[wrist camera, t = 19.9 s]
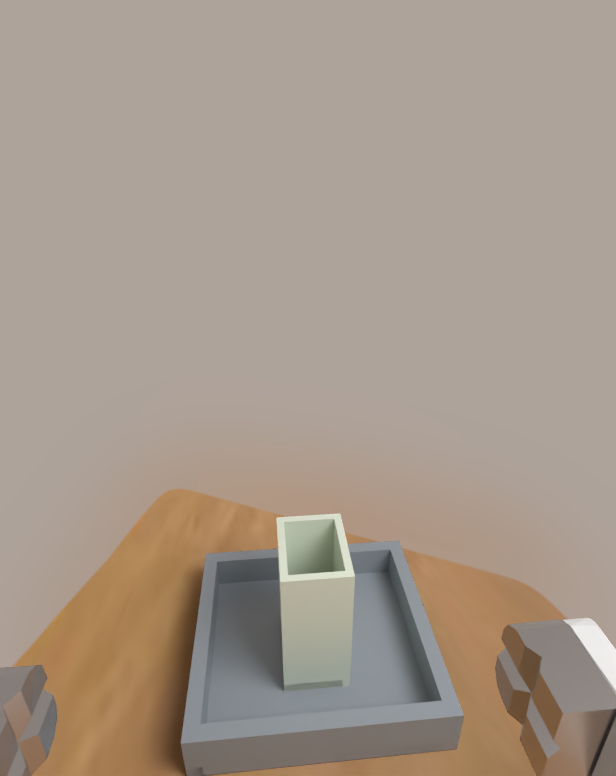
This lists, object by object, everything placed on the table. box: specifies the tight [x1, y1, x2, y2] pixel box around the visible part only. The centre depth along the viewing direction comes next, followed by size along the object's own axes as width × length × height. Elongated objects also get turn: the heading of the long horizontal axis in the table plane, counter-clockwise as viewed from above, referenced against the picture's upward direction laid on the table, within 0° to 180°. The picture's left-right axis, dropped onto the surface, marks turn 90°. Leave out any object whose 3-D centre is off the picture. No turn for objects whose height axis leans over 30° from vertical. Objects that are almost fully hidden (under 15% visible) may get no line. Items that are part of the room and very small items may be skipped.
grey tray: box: [181, 541, 464, 776], centre depth 43 cm, size 20×18×4 cm
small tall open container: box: [277, 514, 355, 692], centre depth 41 cm, size 5×7×12 cm
